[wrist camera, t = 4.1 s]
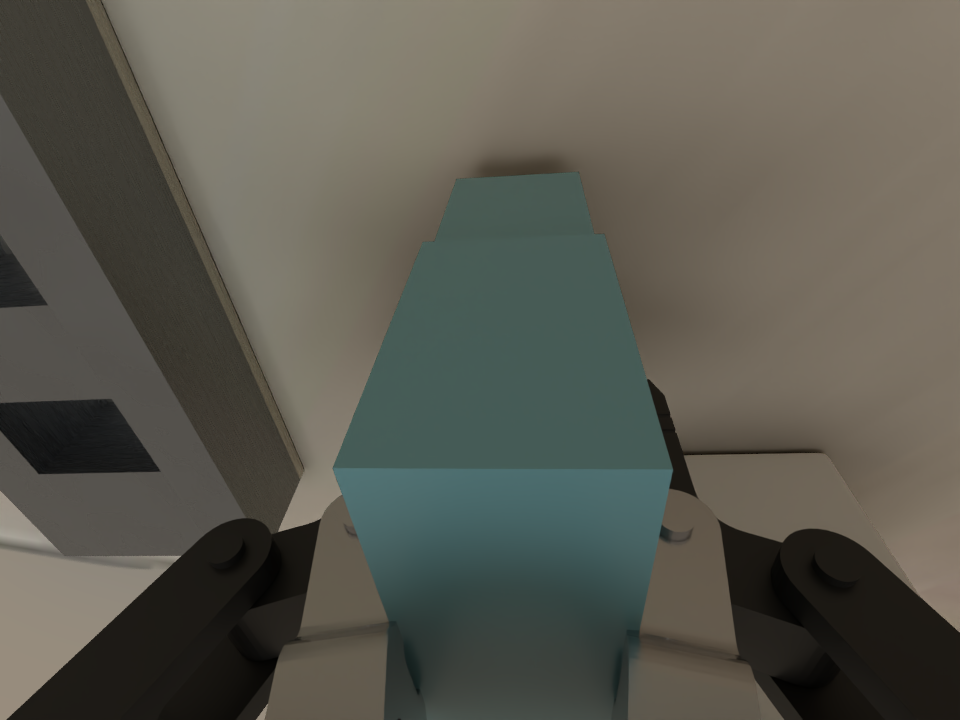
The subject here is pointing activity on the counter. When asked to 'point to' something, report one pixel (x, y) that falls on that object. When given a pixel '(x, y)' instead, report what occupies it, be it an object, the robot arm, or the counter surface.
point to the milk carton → (784, 505)
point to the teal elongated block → (510, 460)
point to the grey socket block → (115, 314)
